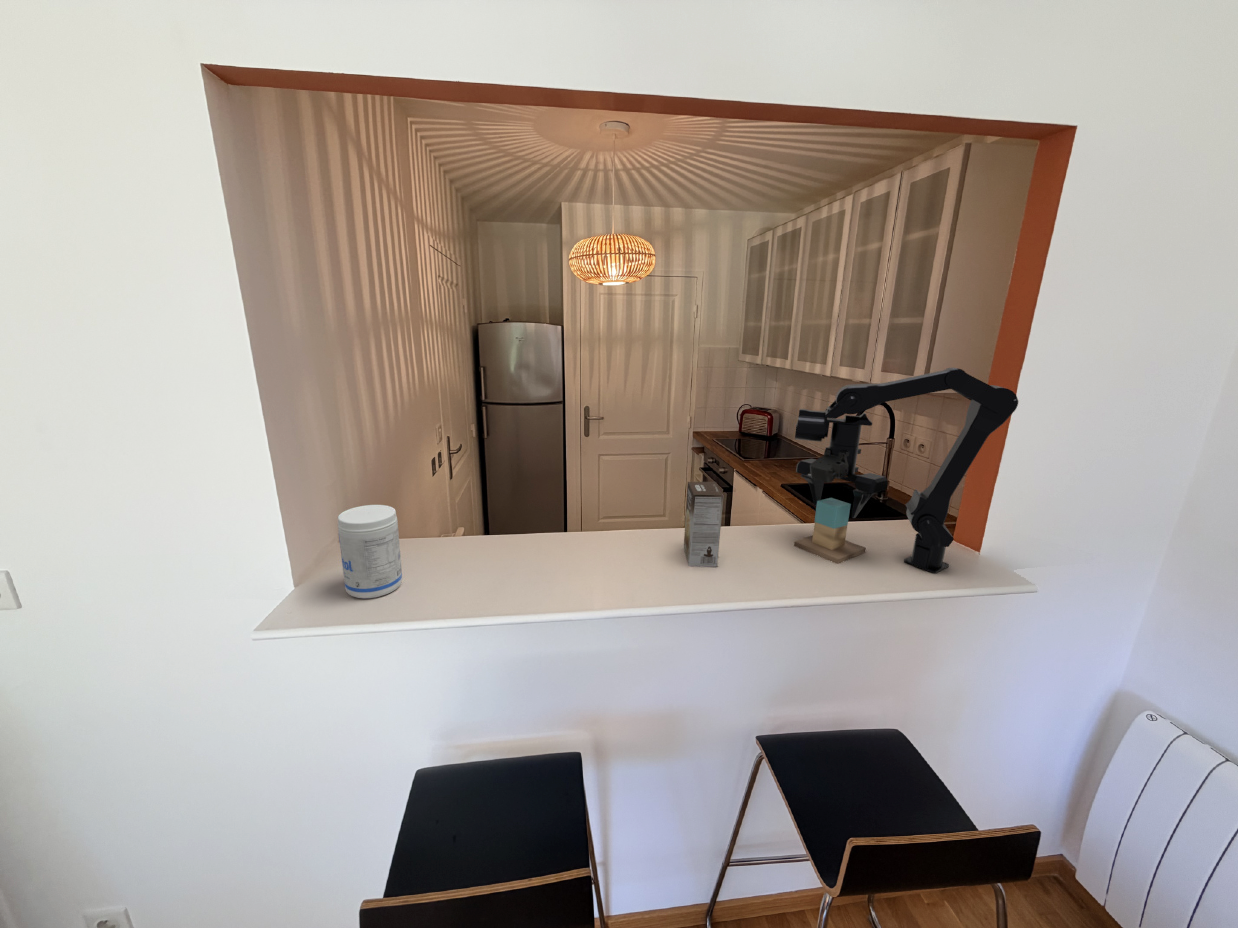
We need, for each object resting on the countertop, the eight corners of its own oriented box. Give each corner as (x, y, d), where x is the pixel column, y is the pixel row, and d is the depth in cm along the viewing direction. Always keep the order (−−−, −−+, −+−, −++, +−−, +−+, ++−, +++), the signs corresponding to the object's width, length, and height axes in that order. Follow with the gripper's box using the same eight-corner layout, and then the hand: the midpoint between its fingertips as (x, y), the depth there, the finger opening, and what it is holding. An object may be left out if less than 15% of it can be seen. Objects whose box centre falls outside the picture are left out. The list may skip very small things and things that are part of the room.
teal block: (828, 518, 115) (830, 497, 114) (847, 524, 111) (850, 503, 110) (814, 521, 112) (817, 500, 111) (833, 528, 108) (837, 507, 107)
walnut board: (821, 539, 120) (822, 531, 120) (864, 555, 112) (866, 547, 111) (793, 549, 114) (794, 541, 114) (836, 567, 105) (838, 559, 105)
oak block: (824, 537, 116) (827, 517, 115) (844, 545, 112) (847, 524, 111) (812, 542, 113) (814, 521, 112) (831, 549, 109) (834, 529, 108)
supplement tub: (337, 588, 90) (326, 513, 87) (388, 570, 97) (380, 500, 94) (360, 606, 84) (350, 527, 81) (413, 586, 92) (406, 512, 88)
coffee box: (682, 548, 111) (686, 480, 107) (710, 549, 111) (715, 481, 107) (688, 567, 102) (693, 493, 98) (718, 567, 102) (725, 494, 98)
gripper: (784, 439, 110) (777, 505, 113) (864, 457, 95) (852, 532, 99) (815, 434, 116) (807, 497, 120) (894, 450, 101) (882, 522, 105)
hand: (834, 511), depth 110 cm, fingers open, 9 cm apart
